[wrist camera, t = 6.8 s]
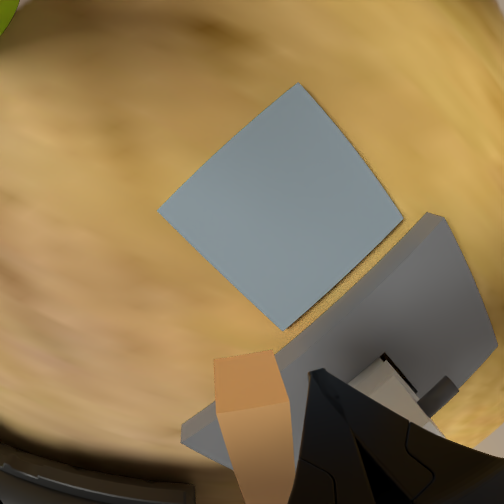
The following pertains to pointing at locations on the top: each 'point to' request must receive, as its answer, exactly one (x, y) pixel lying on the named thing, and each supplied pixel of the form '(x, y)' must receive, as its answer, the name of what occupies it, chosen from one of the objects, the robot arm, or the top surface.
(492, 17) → the top surface
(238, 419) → the tan wooden bar
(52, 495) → the muzzle brake
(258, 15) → the top surface
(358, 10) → the top surface
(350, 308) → the socket block
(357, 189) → the mat
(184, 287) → the top surface
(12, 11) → the soap dispenser
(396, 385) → the plug
